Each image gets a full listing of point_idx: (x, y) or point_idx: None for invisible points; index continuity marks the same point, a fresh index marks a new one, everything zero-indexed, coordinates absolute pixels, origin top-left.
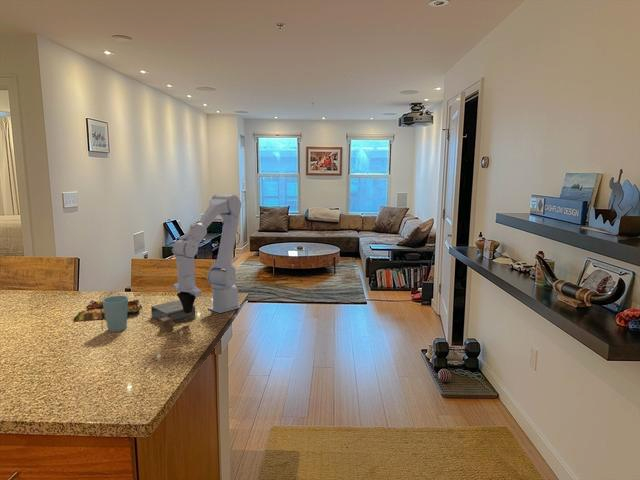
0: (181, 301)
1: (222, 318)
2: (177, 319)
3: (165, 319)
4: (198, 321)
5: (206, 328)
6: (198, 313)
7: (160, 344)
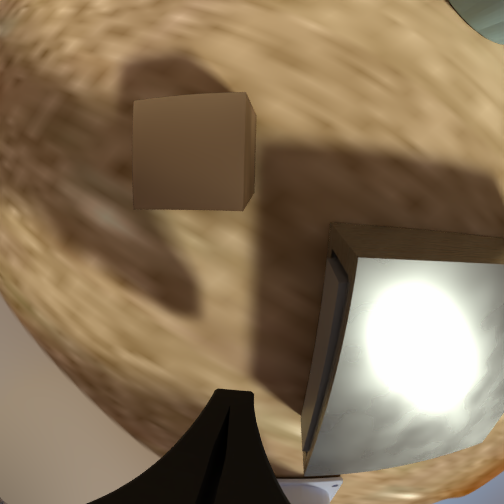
0: (246, 482)
1: None
2: None
3: (166, 136)
4: None
5: (85, 344)
6: None
7: (48, 45)
